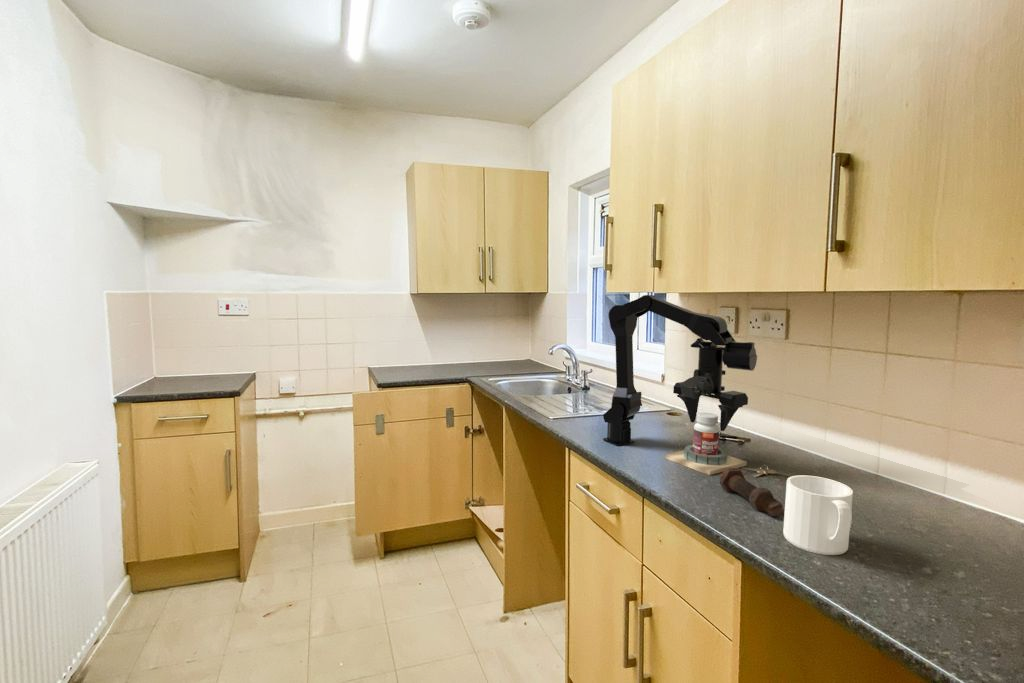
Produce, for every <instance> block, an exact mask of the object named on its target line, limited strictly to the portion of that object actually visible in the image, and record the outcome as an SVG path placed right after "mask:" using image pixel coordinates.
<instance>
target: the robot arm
mask: <svg viewBox="0 0 1024 683" xmlns="http://www.w3.org/2000/svg"><path fill="white" fill-rule="evenodd" d="M649 312H650V313H653V314H654V315H655V314H656V315H658V316H660V317H663V318H666V319H668V320H670V321H672V322H675V323H678V324H679V325H682V326H684V327H686V328H687V329H688V330H689V331H690V332H691V333H693V335H694V334H695V335H696V336H697V339H696V340H695V341H694V342H693V343H691V344H690V348H696V349H698V361H697V362H698V365H697V366H698V367H697V369H694V371H693V376H692V377H689V378H687V379H686V380H684V381H681V382H675V384H674V385H673V393H672V394H676V397H677V398H680V399H681V401H682V402H683V403H684V405H685V409H686V411H687V414H688V415H687V416H688V418H689V420H690V423H692V424H693V423H696V419H697V414H698V408H699V403H700V398H701V396H703V397H707V398H712V399H716V400H718V401H719V403H720V404H717V406H718V408H719V410H720V422H719V426H720V427H719V431H721V432H724V431H726V428H727V427H728V425H729V423H730V422H731V420H732V418H733V416H734V415H735V413H736V412H737V411H738V409H740V408H743V407H744V406H747V405H749V404H748V403H749V397H748V395H747V393H746V392H741V391H737V390H730V391H729V390H728V391H725V388H726V387H725V386H724V385H722V380H723V376H725V375H726V370H723V365H724V366H726V368H728V369H734V370H740V371H741V370H742V371H751V372H752V371H754V370H755V368H756V366H757V362H758V361H757V360H758V355H757V351H756V350H757V349H756V348H755V345H756V344H755V342H753V341H748V342H744V341H743V342H741V341H736V340H735V338H734V336H732V334H731V332H730V331H729V329H728V324H727V321H726V319H724V318H723V317H721V316H717V315H712V314H707V313H706V314H705V313H700V312H695V311H692V310H690V309H687V308H684V307H682V306H680V305H677V304H675V303H671V302H669V301H667V300H664V299H661V298H659V297H657V296H656V295H654V294H644V295H642V296H640V297H639V298H636V299H633V300H632V301H629V302H625V303H624V304H617V305H614V306H612V307H611V308H610V309H609V312H608V321H609V326H610V329H611V332H612V333H613V335H614V338H615V339H614V340H615V342H614V344H615V372H616V375H615V376H616V388H615V390H614V391H613V395H612V397H611V398H612V399H611V406H610V408H609V409H608V410H607V411H606V412H605V413H604V414H603V416H602V417H603V420H604V423H607V436H606V437H604V438H603V439H602V440H603V441H605V442H607V443H610V444H613V445H616V446H623V445H628V444H633V443H635V440H633V439H632V437H631V436H632V427H631V423H632V422H631V420H632V421H633V420H634V418H635V417H636V415H637V414H638V413H639V412H640V409H641V406H643V402H642V392H641V391H637V390H636V387H635V384H634V382H635V381H634V349H633V340H634V339H633V336H634V333H635V330H636V328H637V324H638V318H640V317H641V316H644V315H646V314H647V313H649ZM698 337H699V338H698Z"/></svg>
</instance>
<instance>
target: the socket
mask: <svg viewBox="0 0 1024 683" xmlns="http://www.w3.org/2000/svg"><path fill="white" fill-rule="evenodd" d="M664 458H665V459H667V460H669V461H671V462H675V463H676V464H679V465H682V466H685V467H686V468H687V467H688V468H690V469H692V470H695V471H698V472H700V473H703V474H705V475H708V476H712V475H716V474H720V473H723V472H724V471H725V470H726V469H728V468H738V469H739V468H741V467H745V466H747V464H748V462H747V461H746V460H743V459H739V458H737V457H734V456H733V457H732V456H731V455H729V454H728V451H727V450H726V449H723V448H721V447H719V446H718V455H703V454H698V453H695V452H693V444H690V445H689V444H687V445H686V446H685V447H684V449H683V450H680V451H675V452H672V453H666V454H665V457H664Z"/></svg>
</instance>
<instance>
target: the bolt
mask: <svg viewBox="0 0 1024 683" xmlns="http://www.w3.org/2000/svg"><path fill="white" fill-rule="evenodd" d="M719 484H720V486H721V487H722V489H723V491H725V492H726V493H735V492H736V493H737V494H739V495H740V496H742V497H743V498H745V499H746V500H747V501H748V502H749V505H750V506H751V507H752V509H754V510H755V511H756V512H765V513H766V514H767V515H769V516H770V517H771V516H772V517H776V516H778V515H780V514H781V513H782V512H783V508H784V507H783V505H782V502H780V501H779V500H778V499H776V498H775V497H774V495H773V493H772V492H771V490H770V489H768V488H767V487H757V486H755V485H754V484H752V483H751V482H749V481H748V480H746V478H745V476H744V473H743V471H742V470H741V469H739V468H728V469H726V470H725V471H724V472H721V475H720V476H719Z"/></svg>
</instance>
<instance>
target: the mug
mask: <svg viewBox="0 0 1024 683" xmlns="http://www.w3.org/2000/svg"><path fill="white" fill-rule="evenodd" d="M786 479H787V480H786V484H785V485H786V487H785V501H784V503H785V504H784V516H783V530H782V534H783V537H784V538H785V539H786V541H787V542H788V543H790V544H791V545H793V546H795V547H797V548H799V549H801V550H803V551H805V552H806V551H807V552H810V553H813V554H817V555H823V556H838V555H843V554H844V553H846V552H847V551H848V550H849V544H850V543H849V542H850V531H851V526H852V519H853V518H852V517H853V513H852V506H853V505H852V504H853V495H854V490H853V489H852V488H851V487H849V485H846V484H844V483H843V482H839V481H837V480H835V479H834V480H833V479H830V478H826V477H823V476H822V477H821V476H815V475H808V474H807V475H802V474H801V475H792V476H789V477H788V478H786Z"/></svg>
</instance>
